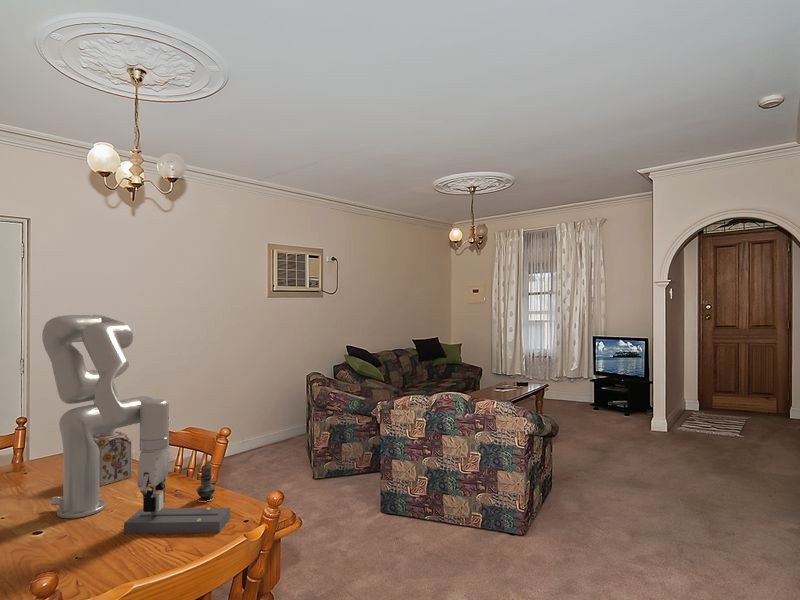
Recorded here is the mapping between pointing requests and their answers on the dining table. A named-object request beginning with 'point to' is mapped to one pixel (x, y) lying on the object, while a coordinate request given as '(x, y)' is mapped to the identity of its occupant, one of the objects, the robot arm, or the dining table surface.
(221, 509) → the console
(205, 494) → the dark chess piece
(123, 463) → the decorative jar
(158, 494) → the fader
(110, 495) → the dining table surface
